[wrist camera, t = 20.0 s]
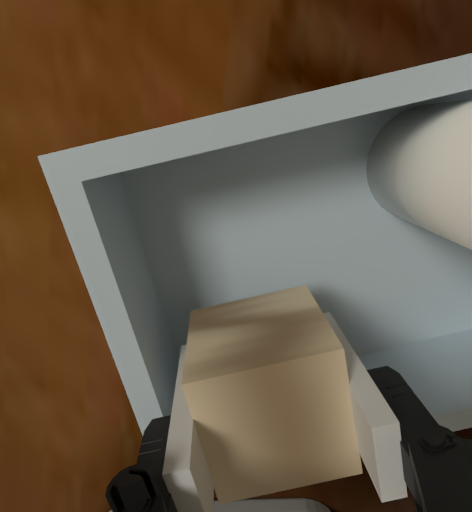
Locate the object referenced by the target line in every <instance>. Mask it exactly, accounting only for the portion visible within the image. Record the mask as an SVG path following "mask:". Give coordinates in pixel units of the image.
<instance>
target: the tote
mask: <svg viewBox="0 0 472 512" xmlns="http://www.w3.org/2000/svg"><path fill="white" fill-rule="evenodd" d="M467 99H472V53H471V54H467V55H463V56H458V57H454V58H450V59H446V60H442V61H437V62H433V63H429V64H425V65H420V66H416V67H412V68H408V69H404V70H399V71H395V72H391V73H387V74H382V75H378V76H374V77H370V78H366V79H361V80H357V81H353V82H349V83H345V84H340V85H336V86H332V87H328V88H323V89H319V90H315V91H311V92H307V93H302V94H298V95H294V96H290V97H285V98H281V99H277V100H273V101H269V102H264V103H260V104H256V105H252V106H248V107H243V108H239V109H235V110H231V111H226V112H222V113H218V114H214V115H210V116H205V117H201V118H197V119H193V120H189V121H184V122H180V123H176V124H172V125H167V126H163V127H159V128H155V129H151V130H146V131H142V132H138V133H134V134H129V135H125V136H121V137H117V138H113V139H108V140H104V141H100V142H96V143H92V144H87V145H83V146H79V147H75V148H70V149H66V150H62V151H58V152H54V153H49V154H45V155H41V156H38V159H39V162H40V164H41V167H42V170H43V172H44V175H45V178H46V180H47V183H48V186H49V188H50V191H51V194H52V196H53V199H54V202H55V204H56V207H57V210H58V212H59V215H60V217H61V220H62V223H63V225H64V228H65V231H66V233H67V236H68V239H69V241H70V244H71V247H72V249H73V252H74V255H75V257H76V260H77V263H78V265H79V268H80V271H81V273H82V276H83V279H84V281H85V284H86V287H87V289H88V292H89V294H90V297H91V300H92V302H93V305H94V308H95V310H96V313H97V316H98V318H99V321H100V324H101V326H102V329H103V332H104V334H105V337H106V340H107V342H108V345H109V348H110V350H111V353H112V356H113V358H114V361H115V363H116V366H117V369H118V371H119V374H120V377H121V379H122V382H123V385H124V387H125V390H126V393H127V395H128V398H129V401H130V403H131V406H132V409H133V411H134V414H135V417H136V419H137V422H138V425H139V427H140V430H141V432H142V435H143V434H144V431H145V429H146V428H147V426H148V425H149V423H150V422H151V420H152V419H155V418H160V417H164V416H169V415H171V412H172V406H173V399H174V392H175V385H176V379H177V372H178V365H179V359H180V352H181V346H182V345H186V344H187V336H188V328H189V320H190V313H191V311H192V310H197V309H201V308H205V307H210V306H214V305H219V304H223V303H228V302H232V301H236V300H241V299H245V298H250V297H254V296H259V295H263V294H267V293H272V292H276V291H281V290H285V289H290V288H294V287H298V286H303V285H307V287H308V289H309V290H310V292H311V294H312V295H313V297H314V299H315V301H316V302H317V304H318V306H319V307H320V309H321V311H322V312H323V313H327V312H330V313H331V315H332V317H333V318H334V320H335V321H336V323H337V324H338V326H339V328H340V329H341V331H342V332H343V334H344V336H345V337H346V339H347V340H348V342H349V343H350V345H351V347H352V348H353V350H354V351H355V353H356V354H357V356H358V358H359V359H360V361H361V362H362V364H363V366H364V367H365V369H366V370H370V369H374V368H379V367H383V366H389V367H390V368H392V369H394V370H395V371H397V372H399V373H400V374H401V376H402V377H403V378H404V380H405V381H406V382H407V385H409V386H410V388H411V389H412V390H413V392H414V393H415V394H416V396H417V397H418V398H419V399H420V401H421V402H422V403H423V405H424V406H425V407H426V409H427V410H428V411H429V413H430V414H431V415H432V417H433V418H434V419H435V420H436V422H437V423H438V424H439V425H441V426H443V427H446V428H448V429H450V430H451V431H452V432H453V431H458V430H462V429H467V428H471V427H472V250H470V249H468V248H466V247H464V246H461V245H459V244H457V243H455V242H453V241H450V240H448V239H446V238H444V237H442V236H439V235H437V234H435V233H433V232H431V231H428V230H426V229H424V228H422V227H420V226H417V225H415V224H413V223H411V222H409V221H406V220H404V219H402V218H400V217H398V216H395V215H393V214H391V213H389V212H388V211H386V210H385V209H384V208H382V207H381V206H380V205H379V204H378V203H377V201H376V200H375V198H374V197H373V195H372V193H371V191H370V188H369V185H368V181H367V172H366V168H367V159H368V154H369V151H370V148H371V146H372V144H373V142H374V140H375V138H376V136H377V135H378V133H379V132H380V130H381V129H382V128H383V127H384V126H385V125H386V124H387V123H388V122H389V121H390V120H391V119H392V118H393V117H395V116H396V115H398V114H399V113H401V112H403V111H405V110H407V109H409V108H412V107H416V106H421V105H428V104H436V103H444V102H452V101H460V100H467Z"/></svg>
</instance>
